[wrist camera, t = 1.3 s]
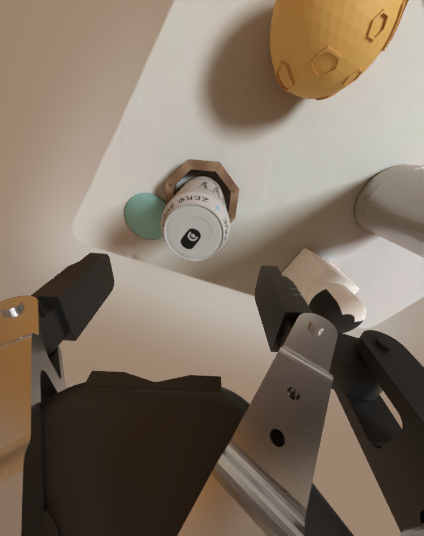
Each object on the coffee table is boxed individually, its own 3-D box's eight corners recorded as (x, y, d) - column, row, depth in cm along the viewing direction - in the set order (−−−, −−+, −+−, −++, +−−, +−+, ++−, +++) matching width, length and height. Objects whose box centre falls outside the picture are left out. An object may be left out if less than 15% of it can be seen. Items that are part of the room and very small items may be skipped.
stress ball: (264, -1, 20) (233, 70, 18) (388, -218, 11) (354, -128, 9) (322, 78, 24) (302, 143, 22) (444, -34, 15) (430, 56, 13)
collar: (240, 164, 26) (242, 165, 24) (230, 232, 31) (232, 237, 29) (168, 157, 26) (164, 157, 24) (170, 227, 31) (167, 232, 29)
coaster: (171, 195, 28) (171, 195, 28) (172, 240, 32) (171, 241, 31) (122, 191, 28) (121, 191, 28) (128, 236, 32) (127, 237, 31)
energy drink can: (231, 194, 28) (247, 228, 15) (206, 226, 31) (202, 279, 18) (197, 165, 26) (183, 176, 13) (173, 201, 29) (142, 241, 16)
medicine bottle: (305, 293, 37) (341, 347, 27) (276, 277, 35) (302, 328, 25) (334, 265, 34) (387, 313, 24) (304, 246, 32) (347, 290, 22)
